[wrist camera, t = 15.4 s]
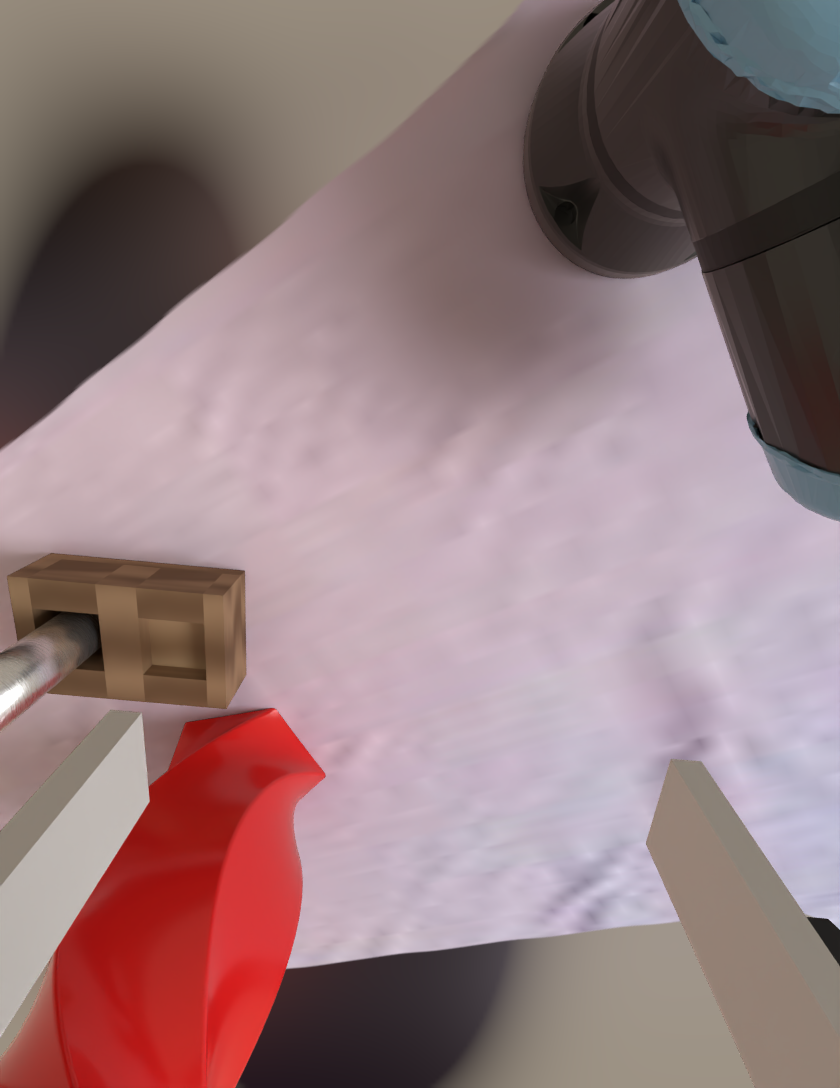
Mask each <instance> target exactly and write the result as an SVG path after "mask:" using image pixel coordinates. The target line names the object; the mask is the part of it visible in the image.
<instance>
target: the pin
mask: <svg viewBox="0 0 840 1088" xmlns="http://www.w3.org/2000/svg"><path fill="white" fill-rule="evenodd" d="M101 647H102V643H101V634H100V625H99V616H98V614H88V613H77V612H65V611H63V612H61V613H60V614H58V615H57V616H55V617H54V618H52V619H51V620H49V621H48V622H46V623H45V624H43V625H42V626H40V627H38V628H37V629H35V630H34V631H32V632H31V633H29V634H28V635H26V636H25V637H23V638H22V639H20V640H19V641H17V642H16V643H14V644H13V645H11V646H10V647H8V648H7V649H5V650H4V651H2V652H1V653H0V732H1V731H3V730H4V729H5V728H6V727H7V726H8V725H10V724H11V723H12V722H13V721H14V720H16V719H17V718H18V717H19V716H20V715H21V714H23V713H24V712H25V711H26V710H27V709H29V708H30V707H31V706H32V705H33V704H34V703H36V702H37V701H38V700H39V699H40V698H41V697H43V696H44V695H45V694H46V693H47V692H49V691H50V690H51V689H52V688H53V687H54V686H56V685H57V684H58V683H59V682H60V681H62V680H63V679H64V678H65V677H66V676H67V675H69V674H70V673H71V672H72V671H73V670H75V669H76V668H77V667H78V666H79V665H80V664H82V663H83V662H84V661H85V660H86V659H88V658H89V657H90V656H91V655H92V654H93V653H95V652H96V651H97V650H98V649H99V648H101Z"/></svg>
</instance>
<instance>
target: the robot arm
mask: <svg viewBox="0 0 840 1088" xmlns="http://www.w3.org/2000/svg"><path fill="white" fill-rule="evenodd" d="M523 168H524V178H525V184H526V190H527V194H528V198H529V201H530V204H531V207H532V210H533V213H534V215H535V217H536V219H537V221H538V223H539V225H540V227H541V229H542V230H543V232H544V233H545V235H546V236H547V238H548V239H549V240H550V242H551V243H552V244H553V245H554V246H555V247H556V248H557V250H558V251H560V252H561V253H562V254H563V255H564V256H565V257H566V258H568V259H569V260H570V261H572V262H573V263H575V264H576V265H578V266H580V267H582V268H584V269H585V270H588V271H590V272H593V273H596V274H599V275H602V276H607V277H613V278H624V279H625V278H640V277H646V276H651V275H655V274H658V273H661V272H664V271H667V270H669V269H672V268H675V267H677V266H679V265H682V264H684V263H686V262H688V261H690V260H692V259H694V258H696V257H698V260H699V263H700V265H701V268H702V275H703V278H704V281H705V284H706V287H707V290H708V293H709V296H710V299H711V302H712V305H713V308H714V311H715V313H716V316H717V319H718V322H719V325H720V328H721V331H722V334H723V337H724V340H725V343H726V346H727V349H728V352H729V355H730V358H731V361H732V364H733V367H734V370H735V373H736V376H737V379H738V381H739V384H740V387H741V390H742V393H743V396H744V399H745V402H746V405H747V408H748V414H747V421H748V425H749V428H750V430H751V433H752V435H753V436H754V438H755V439H756V440H757V441H758V442H759V444H760V445H761V446H762V448H763V450H764V453H765V455H766V458H767V460H768V463H769V465H770V468H771V470H772V473H773V475H774V477H775V479H776V481H777V483H778V484H779V485H780V487H781V488H782V489H783V490H784V491H785V492H787V493H788V494H789V495H790V496H791V497H792V498H793V499H794V500H795V501H796V502H798V503H799V504H801V505H802V506H803V507H805V508H807V509H809V510H811V511H813V512H815V513H817V514H820V515H822V516H824V517H827V518H830V519H833V520H836V521H839V522H840V0H604V1H603V2H602V3H600V4H599V5H597V6H596V7H595V8H594V9H593V10H591V11H590V12H589V13H588V14H587V15H586V16H585V17H584V18H583V19H582V20H581V21H580V22H579V23H578V24H577V25H576V26H575V27H574V28H573V30H572V31H571V32H570V33H569V35H568V36H567V37H566V38H565V40H564V41H563V42H562V44H561V45H560V47H559V48H558V50H557V51H556V53H555V55H554V56H553V58H552V60H551V62H550V63H549V65H548V67H547V69H546V71H545V74H544V76H543V78H542V81H541V83H540V85H539V88H538V90H537V93H536V95H535V98H534V101H533V103H532V106H531V110H530V113H529V117H528V121H527V126H526V131H525V137H524V149H523ZM149 802H150V800H149V788H148V777H147V766H146V754H145V743H144V732H143V721H142V713H139V712H127V711H116V710H110V711H109V712H108V713H107V714H106V715H105V717H104V718H103V719H102V720H101V721H100V722H99V723H98V724H97V725H96V726H95V728H94V729H93V730H92V731H91V732H90V733H89V734H88V735H87V736H86V737H85V739H84V740H83V741H82V742H81V743H80V744H79V745H78V746H77V747H76V748H75V750H74V751H73V752H72V753H71V754H70V755H69V756H68V757H67V758H66V759H65V761H64V762H63V763H62V764H61V765H60V766H59V767H58V768H57V769H56V770H55V772H54V773H53V774H52V775H51V776H50V777H49V778H48V779H47V780H46V781H45V783H44V784H43V785H42V786H41V787H40V788H39V789H38V790H37V791H36V792H35V794H34V795H33V796H32V797H31V798H30V799H29V800H28V801H27V802H26V803H25V805H24V806H23V807H22V808H21V809H20V810H19V811H18V812H17V813H16V814H15V816H14V817H13V818H12V819H11V820H10V821H9V822H8V823H7V824H6V825H5V827H4V828H3V829H2V830H1V831H0V1037H1V1035H2V1034H3V1032H4V1031H5V1029H6V1027H7V1026H8V1024H9V1023H10V1021H11V1020H12V1018H13V1016H14V1015H15V1013H16V1012H17V1010H18V1009H19V1007H20V1005H21V1004H22V1002H23V1000H24V999H25V997H26V996H27V994H28V993H29V991H30V990H31V988H32V986H33V985H34V983H35V982H36V980H37V979H38V977H39V975H40V974H41V972H42V970H43V969H44V967H45V966H46V964H47V963H48V961H49V960H50V958H51V956H52V955H53V953H54V952H55V950H56V949H57V947H58V945H59V944H60V942H61V941H62V939H63V937H64V936H65V934H66V933H67V931H68V930H69V928H70V926H71V925H72V923H73V922H74V920H75V919H76V917H77V915H78V914H79V912H80V911H81V909H82V907H83V906H84V904H85V903H86V901H87V900H88V898H89V896H90V895H91V893H92V892H93V890H94V888H95V887H96V885H97V884H98V882H99V881H100V879H101V877H102V876H103V874H104V873H105V871H106V870H107V868H108V866H109V865H110V863H111V862H112V860H113V858H114V857H115V855H116V854H117V852H118V851H119V849H120V847H121V846H122V844H123V843H124V841H125V839H126V838H127V836H128V835H129V833H130V832H131V830H132V828H133V827H134V825H135V824H136V822H137V821H138V819H139V817H140V816H141V814H142V813H143V811H144V809H145V808H146V806H147V805H148V803H149ZM646 845H647V847H648V850H649V852H650V854H651V856H652V858H653V861H654V863H655V865H656V867H657V870H658V872H659V874H660V876H661V879H662V881H663V883H664V885H665V888H666V890H667V892H668V894H669V897H670V899H671V901H672V903H673V905H674V908H675V910H676V912H677V914H678V917H679V919H680V921H681V923H682V926H683V928H684V930H685V932H686V935H687V937H688V939H689V941H690V943H691V946H692V948H693V950H694V952H695V955H696V957H697V959H698V961H699V963H700V966H701V968H702V970H703V973H704V975H705V977H706V979H707V981H708V984H709V986H710V988H711V990H712V992H713V995H714V997H715V999H716V1001H717V1004H718V1006H719V1008H720V1010H721V1013H722V1015H723V1017H724V1020H725V1022H726V1024H727V1026H728V1028H729V1031H730V1033H731V1035H732V1037H733V1039H734V1042H735V1044H736V1046H737V1049H738V1051H739V1053H740V1055H741V1058H742V1060H743V1062H744V1064H745V1066H746V1069H747V1071H748V1073H749V1075H750V1078H751V1080H752V1082H753V1084H754V1087H755V1088H840V930H839V929H838V928H837V927H836V926H835V925H834V924H833V923H832V922H831V921H830V920H829V919H824V918H812V917H806V916H805V914H804V913H803V911H802V910H801V908H800V907H799V905H798V904H797V902H796V901H795V899H794V898H793V896H792V895H791V893H790V892H789V891H788V889H787V888H786V886H785V885H784V883H783V882H782V880H781V879H780V877H779V876H778V874H777V873H776V871H775V870H774V868H773V867H772V865H771V864H770V862H769V861H768V859H767V858H766V857H765V855H764V854H763V852H762V851H761V849H760V848H759V846H758V845H757V843H756V842H755V840H754V839H753V837H752V836H751V834H750V833H749V831H748V830H747V828H746V827H745V825H744V824H743V823H742V821H741V820H740V818H739V817H738V815H737V814H736V812H735V811H734V809H733V808H732V806H731V805H730V803H729V802H728V800H727V799H726V797H725V796H724V794H723V793H722V791H721V790H720V788H719V787H718V786H717V784H716V783H715V781H714V780H713V778H712V777H711V775H710V774H709V772H708V771H707V769H706V768H705V766H704V765H703V763H702V762H700V761H688V760H677V759H671V760H670V764H669V767H668V770H667V774H666V777H665V781H664V784H663V787H662V791H661V794H660V797H659V801H658V804H657V807H656V811H655V814H654V818H653V821H652V824H651V828H650V831H649V834H648V838H647V841H646Z"/></svg>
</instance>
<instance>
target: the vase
mask: <svg viewBox="0 0 840 1088" xmlns="http://www.w3.org/2000/svg"><path fill="white" fill-rule="evenodd" d="M323 778H325V773H324V772H323V770H322V769H321V768H320V767H319V765H318V764H317V763H316V761H315V760H314V759H313V758H312V756H311V755H310V754H309V752H308V751H307V750H306V749H305V747H304V746H303V745H302V743H301V742H300V741H299V739H298V738H297V737H296V735H295V734H294V733H293V731H292V730H291V729H290V727H289V726H288V725H287V723H286V722H285V721H284V719H283V718H282V717H281V715H280V714H279V713H278V711H277V710H276V709H274V708H270V709H264V710H259V711H253V712H248V713H242V714H236V715H230V716H224V717H218V718H211V719H205V720H199V721H192V722H186V723H185V725H184V728H183V730H182V733H181V736H180V739H179V742H178V744H177V747H176V750H175V753H174V755H173V758H172V761H171V763H170V766H169V769H168V771H167V772H166V773H164V774H163V775H162V776H161V777H159V778H158V779H157V780H156V781H155V782H153V783H152V784H151V785H150V786H149V787H148V788H149V800H150V802H149V803H148V805H147V806H146V808H145V809H144V811H143V813H142V814H141V816H140V817H139V819H138V821H137V822H136V824H135V825H134V827H133V828H132V830H131V832H130V833H129V835H128V836H127V838H126V839H125V841H124V843H123V844H122V846H121V847H120V849H119V851H118V852H117V854H116V855H115V857H114V858H113V860H112V862H111V863H110V865H109V866H108V868H107V870H106V871H105V873H104V874H103V876H102V877H101V879H100V881H99V882H98V884H97V885H96V887H95V888H94V890H93V892H92V893H91V895H90V896H89V898H88V900H87V901H86V903H85V904H84V906H83V907H82V909H81V911H80V912H79V914H78V915H77V917H76V919H75V920H74V922H73V923H72V925H71V926H70V928H69V930H68V931H67V933H66V934H65V936H64V937H63V939H62V941H61V942H60V944H59V945H58V947H57V949H56V950H55V952H54V953H53V955H52V956H51V958H50V961H49V965H48V968H47V971H46V973H45V976H44V979H43V982H42V984H41V987H40V990H39V992H38V994H37V997H36V999H35V1002H34V1004H33V1006H32V1008H31V1010H30V1012H29V1014H28V1016H27V1018H26V1020H25V1022H24V1023H23V1025H22V1027H21V1028H20V1030H19V1032H18V1034H17V1035H16V1037H15V1038H14V1040H13V1041H12V1043H11V1044H10V1046H9V1047H8V1048H7V1049H6V1051H5V1052H4V1053H3V1055H2V1056H1V1057H0V1088H235V1086H236V1084H237V1082H238V1080H239V1078H240V1076H241V1074H242V1072H243V1070H244V1068H245V1066H246V1064H247V1062H248V1060H249V1058H250V1056H251V1053H252V1051H253V1049H254V1047H255V1045H256V1042H257V1040H258V1038H259V1036H260V1033H261V1031H262V1029H263V1027H264V1024H265V1022H266V1020H267V1017H268V1015H269V1012H270V1010H271V1008H272V1005H273V1002H274V1000H275V997H276V994H277V992H278V989H279V987H280V984H281V981H282V978H283V975H284V972H285V970H286V967H287V963H288V960H289V957H290V954H291V950H292V947H293V943H294V939H295V935H296V931H297V926H298V921H299V916H300V910H301V902H302V888H303V878H302V867H301V861H300V857H299V853H298V849H297V845H296V840H295V834H294V824H293V819H294V810H295V807H296V804H297V803H298V801H299V800H300V799H302V798H303V797H304V796H305V795H306V794H307V793H308V792H309V791H310V790H311V789H312V788H314V787H315V786H316V785H317V784H318V783H319V782H320V781H321V780H322V779H323Z"/></svg>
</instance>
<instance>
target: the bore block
mask: <svg viewBox="0 0 840 1088" xmlns="http://www.w3.org/2000/svg"><path fill="white" fill-rule="evenodd" d="M7 580H8V586H9V592H10V598H11V604H12V610H13V616H14V622H15V628H16V634H17V640H18V641H19V640H20V639H22V638H23V637H25V636H26V635H28V634H29V633H31V632H32V631H34V630H35V629H37V628H38V627H40V626H42V625H43V624H45V623H46V622H48V621H49V620H51V619H52V618H54V617H55V616H57V615H58V614H60V613H61V612H63V611H65V612H77V613H88V614H98V616H99V625H100V634H101V643H102V647H101V648H99V649H98V650H97V651H96V652H95V653H93V654H92V655H91V656H90V657H89V658H88V659H86V660H85V661H84V662H83V663H82V664H80V665H79V666H78V667H77V668H76V669H75V670H73V671H72V672H71V673H70V674H69V675H67V676H66V677H65V678H64V679H63V680H62V681H60V682H59V683H58V684H57V685H56V686H54V687H53V688H52V689H51V690H50V691H49V692H47V693H49V694H61V695H72V696H83V697H95V698H106V699H118V700H129V701H141V702H152V703H164V704H175V705H186V706H198V707H209V708H221V709H227V707H228V705H229V704H230V702H231V700H232V698H233V697H234V695H235V693H236V691H237V690H238V688H239V686H240V685H241V683H242V681H243V679H244V678H245V676H246V622H245V571H241V570H230V569H219V568H208V567H197V566H186V565H175V564H164V563H153V562H142V561H131V560H120V559H109V558H98V557H87V556H76V555H65V554H54V553H51V554H49V555H47V556H45V557H43V558H41V559H39V560H37V561H35V562H33V563H31V564H30V565H28V566H26V567H24V568H22V569H20V570H18V571H16V572H14V573H12V574H10V575H8V576H7Z"/></svg>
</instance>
